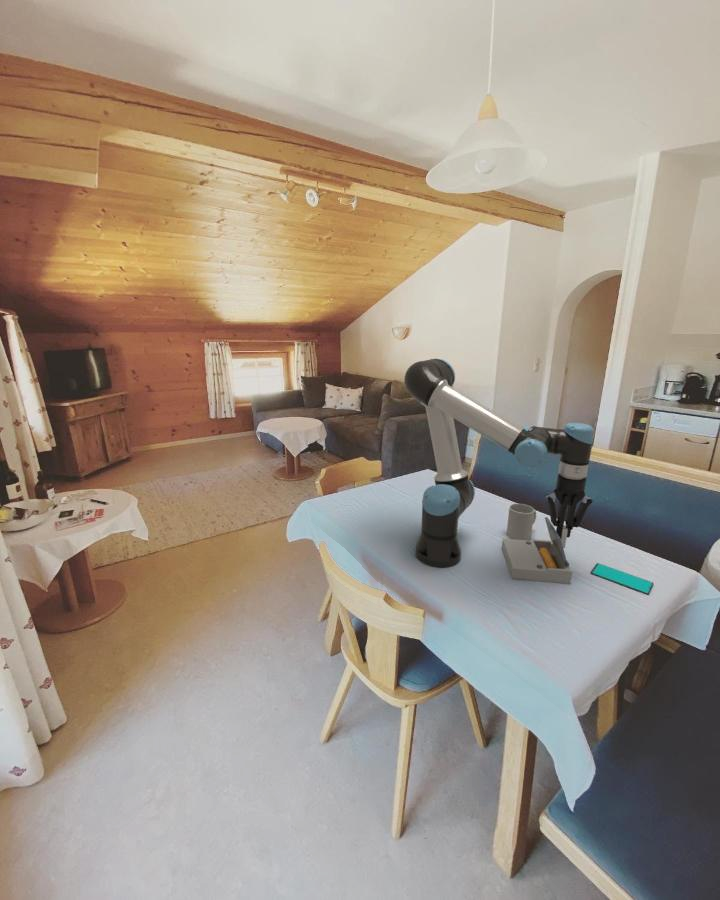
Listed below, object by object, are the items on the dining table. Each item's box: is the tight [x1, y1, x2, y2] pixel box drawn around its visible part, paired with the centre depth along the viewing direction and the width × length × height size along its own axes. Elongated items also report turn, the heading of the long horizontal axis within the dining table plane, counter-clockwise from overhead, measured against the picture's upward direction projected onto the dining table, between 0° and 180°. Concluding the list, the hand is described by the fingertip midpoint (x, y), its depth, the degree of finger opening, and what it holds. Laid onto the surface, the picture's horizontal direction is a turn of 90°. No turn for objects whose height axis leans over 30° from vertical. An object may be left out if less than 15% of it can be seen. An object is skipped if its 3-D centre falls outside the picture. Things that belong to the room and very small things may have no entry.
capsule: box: [539, 548, 557, 569], centre depth 125 cm, size 3×12×3 cm
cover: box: [544, 516, 570, 567], centre depth 123 cm, size 10×14×1 cm
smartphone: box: [590, 562, 654, 596], centre depth 119 cm, size 7×1×15 cm
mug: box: [506, 503, 537, 541], centre depth 144 cm, size 12×8×11 cm
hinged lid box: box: [501, 538, 573, 585], centre depth 126 cm, size 17×18×4 cm
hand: (561, 545), depth 123 cm, fingers closed
